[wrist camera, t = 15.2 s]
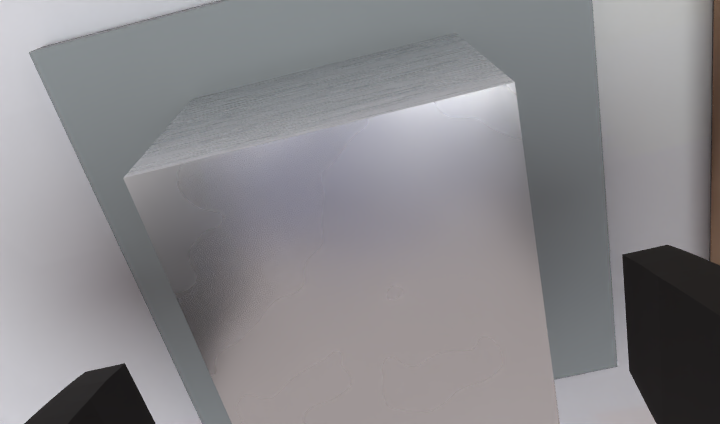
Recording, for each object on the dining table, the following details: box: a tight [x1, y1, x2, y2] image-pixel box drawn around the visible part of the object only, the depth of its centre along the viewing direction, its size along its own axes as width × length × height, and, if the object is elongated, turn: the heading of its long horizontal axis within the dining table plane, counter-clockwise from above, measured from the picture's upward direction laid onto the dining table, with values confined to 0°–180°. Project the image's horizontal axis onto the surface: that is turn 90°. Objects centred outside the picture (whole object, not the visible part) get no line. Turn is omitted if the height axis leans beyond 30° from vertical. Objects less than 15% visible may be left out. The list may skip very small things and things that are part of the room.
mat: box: [29, 0, 617, 424], centre depth 13 cm, size 10×10×1 cm
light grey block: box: [123, 33, 560, 424], centre depth 11 cm, size 7×5×4 cm
